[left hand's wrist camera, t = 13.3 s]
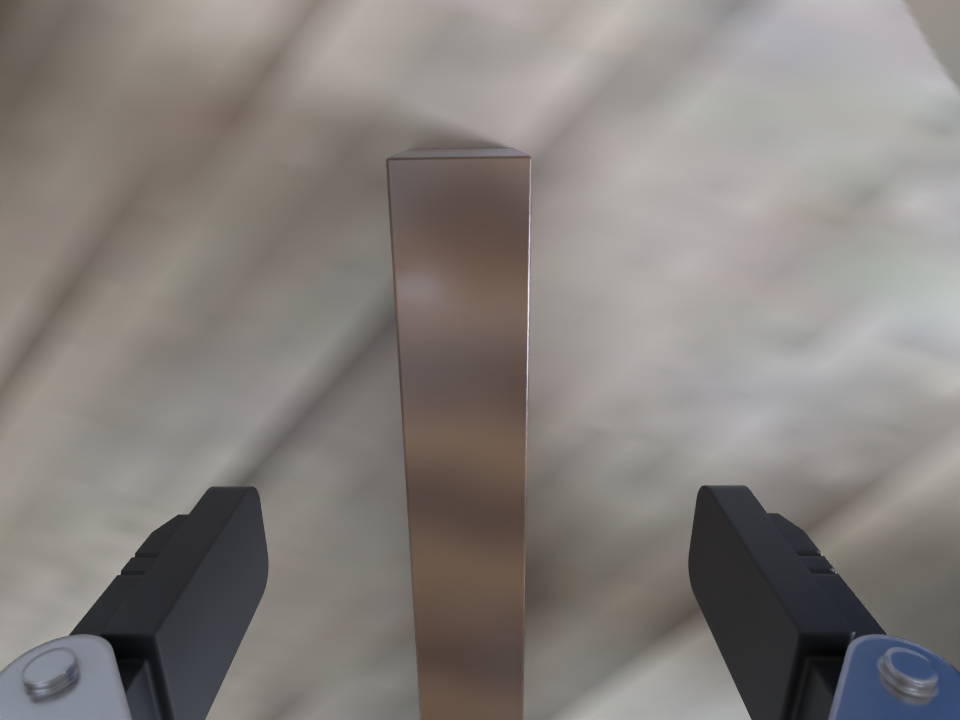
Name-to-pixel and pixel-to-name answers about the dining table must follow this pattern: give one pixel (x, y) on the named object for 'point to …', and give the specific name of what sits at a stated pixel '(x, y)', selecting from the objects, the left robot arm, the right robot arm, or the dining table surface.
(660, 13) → the dining table surface
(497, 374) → the beam
